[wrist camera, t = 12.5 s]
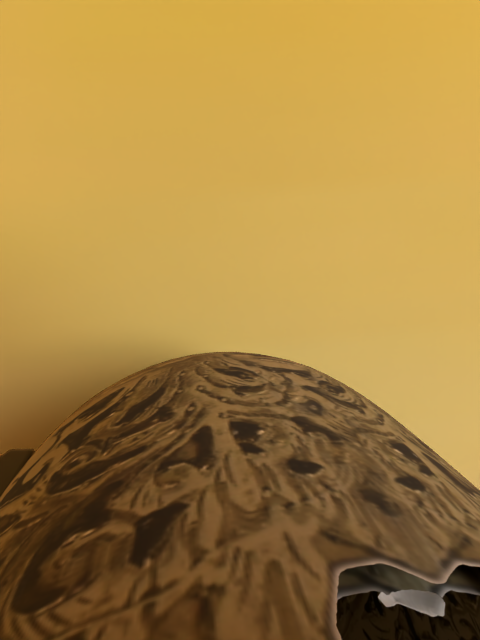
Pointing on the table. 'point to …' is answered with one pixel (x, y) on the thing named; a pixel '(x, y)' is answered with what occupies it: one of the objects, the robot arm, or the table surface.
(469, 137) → the table surface
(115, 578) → the cup
